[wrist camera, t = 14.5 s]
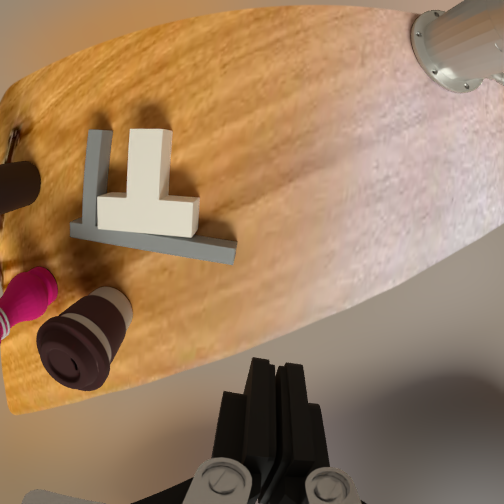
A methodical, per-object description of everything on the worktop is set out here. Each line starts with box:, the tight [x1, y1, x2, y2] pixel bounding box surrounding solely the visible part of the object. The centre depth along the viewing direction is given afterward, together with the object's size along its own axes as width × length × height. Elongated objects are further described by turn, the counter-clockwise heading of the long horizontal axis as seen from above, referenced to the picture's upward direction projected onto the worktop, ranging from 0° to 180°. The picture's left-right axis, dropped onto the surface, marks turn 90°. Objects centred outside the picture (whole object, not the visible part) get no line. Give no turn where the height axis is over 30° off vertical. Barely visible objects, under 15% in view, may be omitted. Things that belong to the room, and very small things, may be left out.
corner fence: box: [70, 130, 237, 265], centre depth 37 cm, size 22×14×3 cm, turn 81°
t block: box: [97, 129, 200, 238], centre depth 36 cm, size 12×12×4 cm
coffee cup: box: [36, 287, 133, 391], centre depth 36 cm, size 10×10×15 cm
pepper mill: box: [0, 267, 58, 344], centre depth 33 cm, size 7×7×20 cm
